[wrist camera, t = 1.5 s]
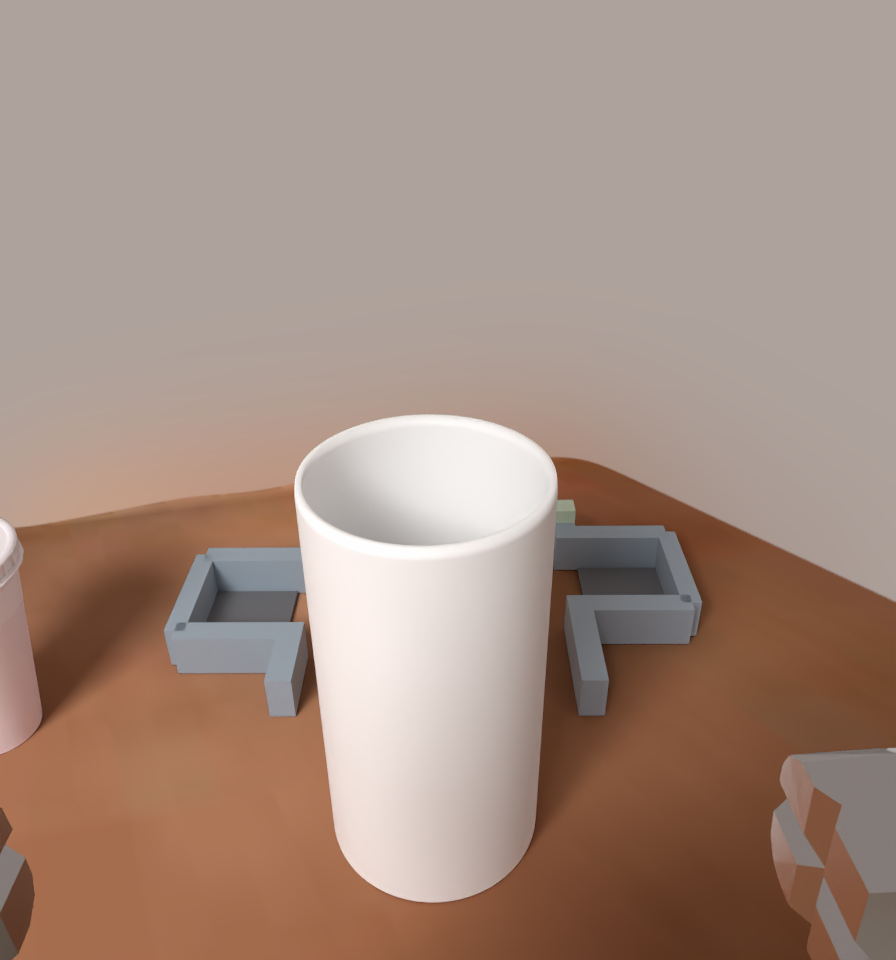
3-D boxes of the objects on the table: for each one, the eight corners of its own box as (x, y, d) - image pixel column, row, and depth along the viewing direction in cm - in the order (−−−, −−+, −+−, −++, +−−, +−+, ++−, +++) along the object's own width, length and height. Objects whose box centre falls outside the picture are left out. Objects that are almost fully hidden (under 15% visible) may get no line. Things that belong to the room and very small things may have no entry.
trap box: (150, 716, 39) (137, 668, 38) (220, 543, 51) (212, 501, 49) (725, 715, 39) (735, 666, 37) (662, 541, 51) (668, 499, 49)
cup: (349, 729, 38) (317, 412, 30) (530, 733, 38) (549, 414, 30) (318, 899, 31) (266, 547, 23) (541, 906, 31) (569, 552, 23)
